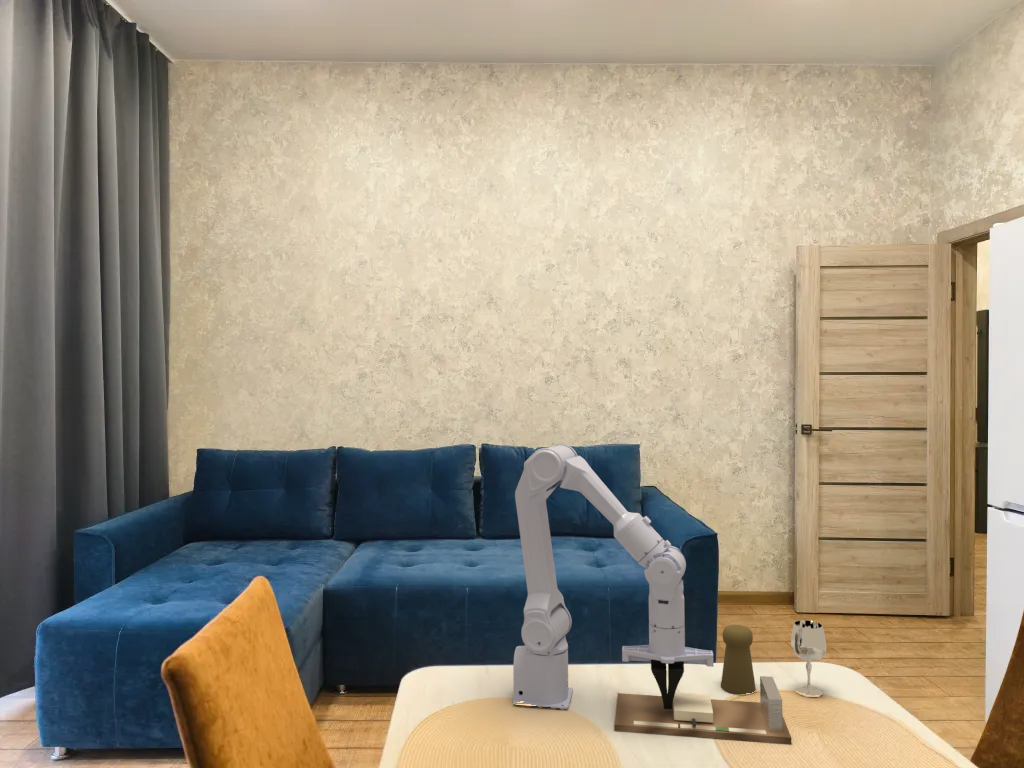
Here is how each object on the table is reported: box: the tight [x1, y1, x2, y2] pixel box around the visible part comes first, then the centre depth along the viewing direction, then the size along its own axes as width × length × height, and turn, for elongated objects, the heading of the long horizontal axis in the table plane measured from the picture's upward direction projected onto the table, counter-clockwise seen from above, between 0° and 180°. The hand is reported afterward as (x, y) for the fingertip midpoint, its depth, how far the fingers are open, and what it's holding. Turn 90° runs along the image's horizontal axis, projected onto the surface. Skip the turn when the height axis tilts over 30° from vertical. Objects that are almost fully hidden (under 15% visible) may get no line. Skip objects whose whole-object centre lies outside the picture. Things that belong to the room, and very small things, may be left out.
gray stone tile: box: [759, 675, 783, 732], centre depth 117 cm, size 2×9×5 cm, turn 169°
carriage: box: [673, 691, 713, 726], centre depth 119 cm, size 6×9×2 cm, turn 169°
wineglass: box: [790, 619, 827, 696], centre depth 129 cm, size 6×6×12 cm
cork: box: [720, 624, 757, 695], centre depth 132 cm, size 6×6×11 cm
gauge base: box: [613, 692, 792, 745], centre depth 119 cm, size 26×12×1 cm, turn 79°
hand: (667, 706), depth 120 cm, fingers closed
